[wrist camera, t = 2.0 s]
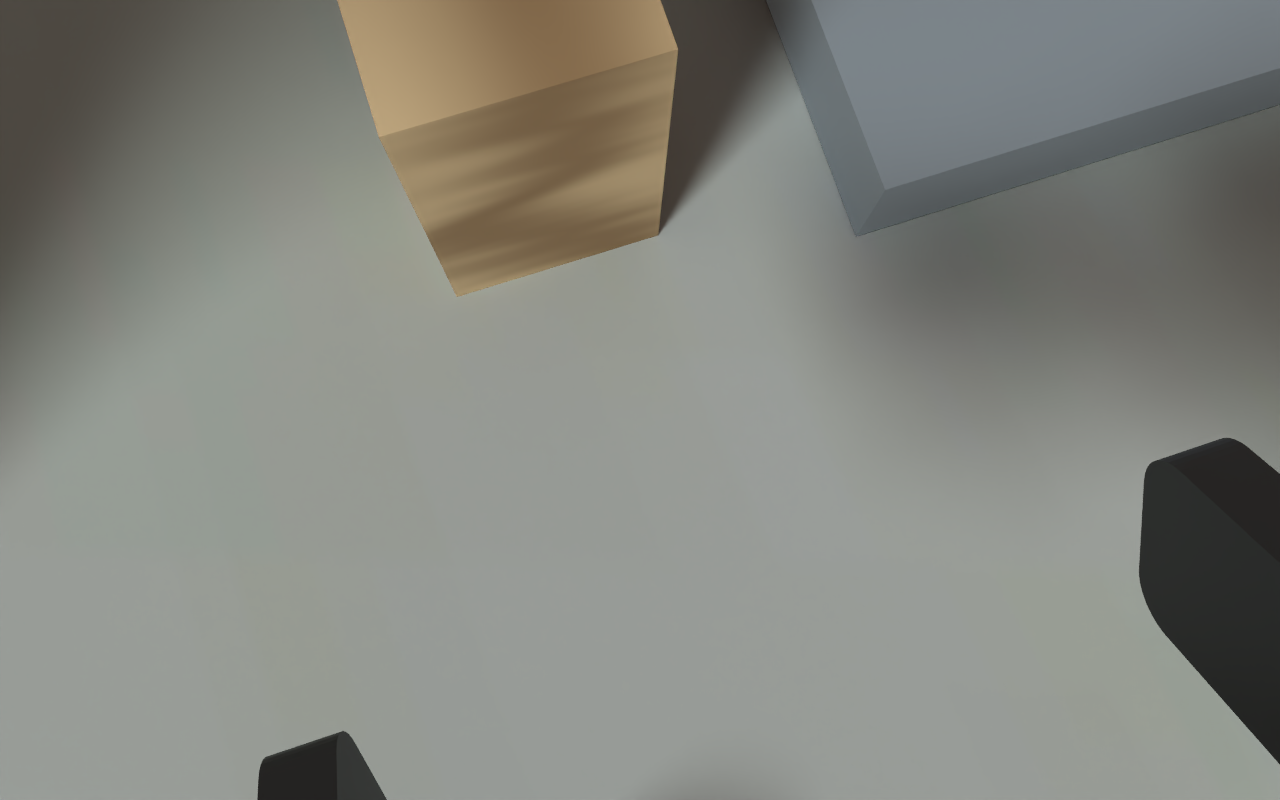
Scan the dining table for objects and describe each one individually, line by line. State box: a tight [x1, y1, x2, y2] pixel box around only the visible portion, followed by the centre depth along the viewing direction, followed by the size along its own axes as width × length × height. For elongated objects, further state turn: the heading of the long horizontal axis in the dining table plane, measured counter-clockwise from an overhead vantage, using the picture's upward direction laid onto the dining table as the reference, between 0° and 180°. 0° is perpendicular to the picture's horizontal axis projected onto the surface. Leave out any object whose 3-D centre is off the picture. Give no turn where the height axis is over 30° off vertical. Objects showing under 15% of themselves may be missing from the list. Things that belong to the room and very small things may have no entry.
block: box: [337, 0, 678, 297], centre depth 23 cm, size 5×5×9 cm
